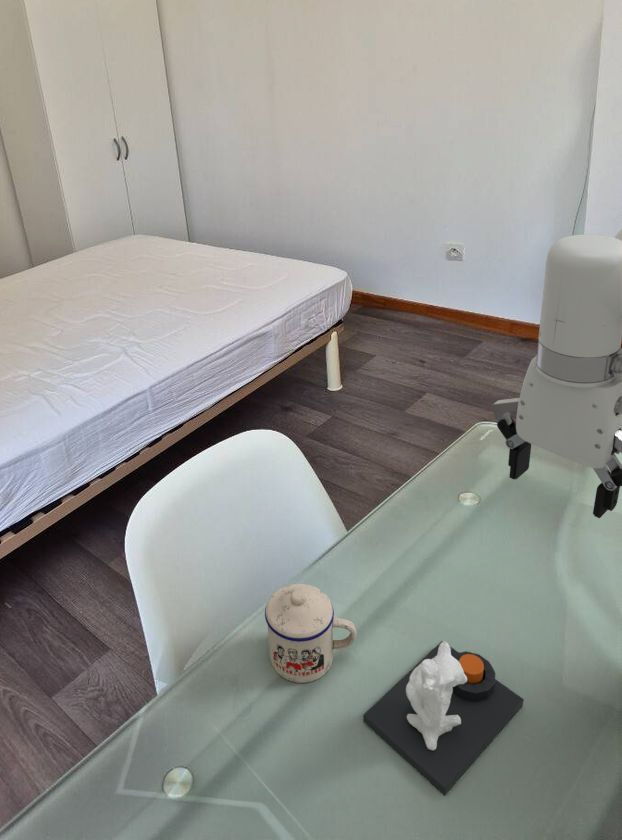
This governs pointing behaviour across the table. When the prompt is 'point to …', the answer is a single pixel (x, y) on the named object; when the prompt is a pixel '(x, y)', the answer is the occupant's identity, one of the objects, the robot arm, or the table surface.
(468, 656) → the button
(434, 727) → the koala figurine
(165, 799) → the table surface
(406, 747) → the black push button board
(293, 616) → the teacup with lid
